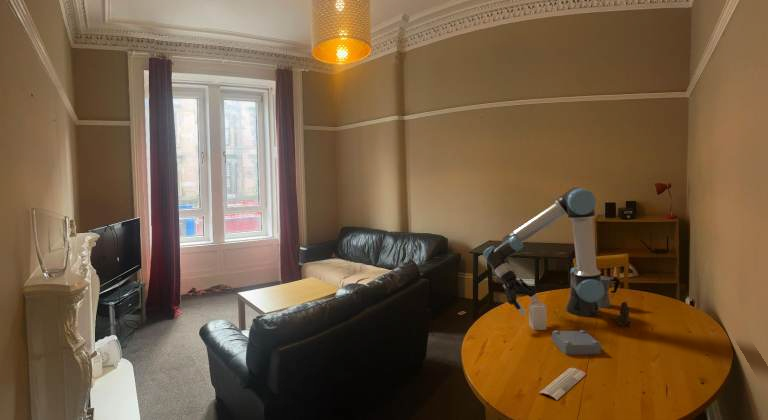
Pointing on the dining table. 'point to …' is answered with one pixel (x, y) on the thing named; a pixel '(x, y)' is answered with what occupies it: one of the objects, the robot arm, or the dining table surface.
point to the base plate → (576, 342)
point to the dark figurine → (623, 315)
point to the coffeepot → (605, 300)
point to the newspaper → (563, 383)
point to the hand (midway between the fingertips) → (532, 311)
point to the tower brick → (537, 316)
